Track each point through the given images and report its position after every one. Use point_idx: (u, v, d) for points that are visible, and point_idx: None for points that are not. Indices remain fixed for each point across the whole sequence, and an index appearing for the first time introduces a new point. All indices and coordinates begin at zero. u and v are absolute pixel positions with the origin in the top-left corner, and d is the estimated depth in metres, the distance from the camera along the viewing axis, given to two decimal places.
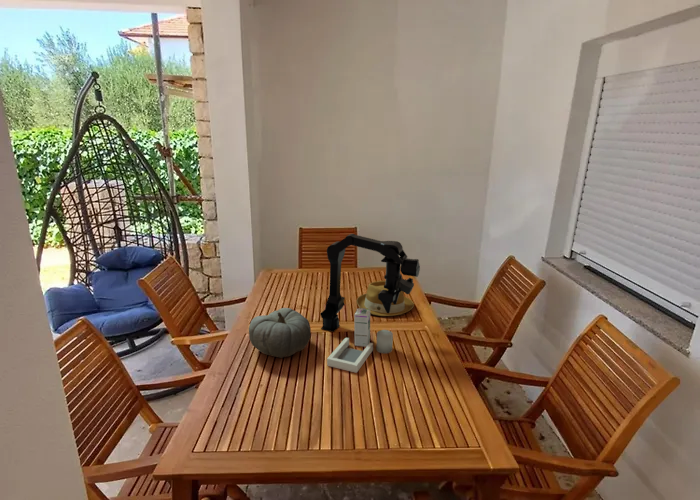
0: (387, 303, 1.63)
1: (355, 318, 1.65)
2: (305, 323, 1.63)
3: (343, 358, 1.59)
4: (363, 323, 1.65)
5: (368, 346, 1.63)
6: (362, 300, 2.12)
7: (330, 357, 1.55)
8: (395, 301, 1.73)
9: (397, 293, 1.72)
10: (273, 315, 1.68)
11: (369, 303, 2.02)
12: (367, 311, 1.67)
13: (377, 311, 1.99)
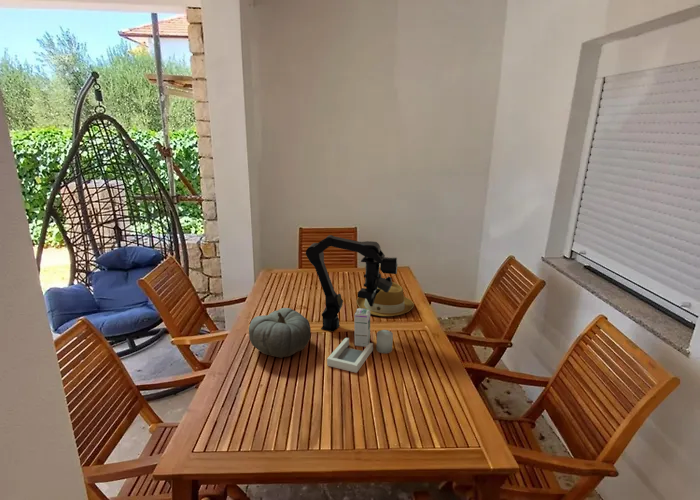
0: None
1: (355, 318, 1.65)
2: (305, 323, 1.63)
3: (343, 358, 1.59)
4: (363, 323, 1.65)
5: (368, 346, 1.63)
6: (362, 300, 2.12)
7: (330, 357, 1.55)
8: None
9: (374, 295, 1.76)
10: (273, 315, 1.68)
11: None
12: (367, 311, 1.67)
13: (377, 311, 1.99)
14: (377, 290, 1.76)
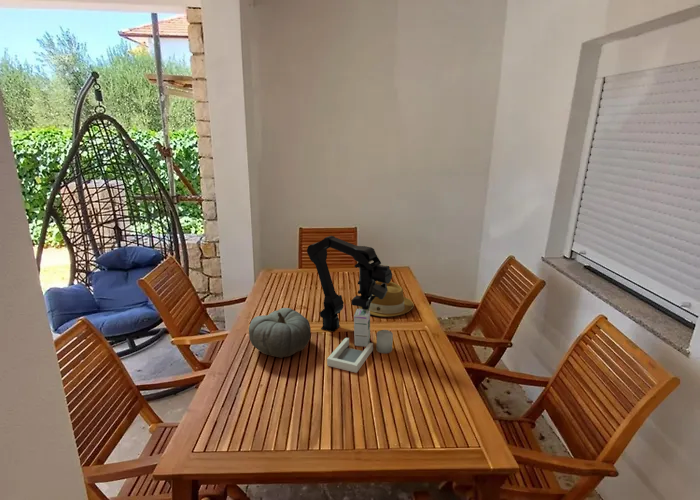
0: None
1: (354, 319, 1.64)
2: (305, 323, 1.63)
3: (343, 358, 1.59)
4: (363, 324, 1.65)
5: (368, 346, 1.63)
6: None
7: (330, 357, 1.55)
8: None
9: (368, 302, 1.69)
10: (273, 315, 1.68)
11: None
12: (367, 312, 1.66)
13: (377, 312, 1.98)
14: (372, 297, 1.70)
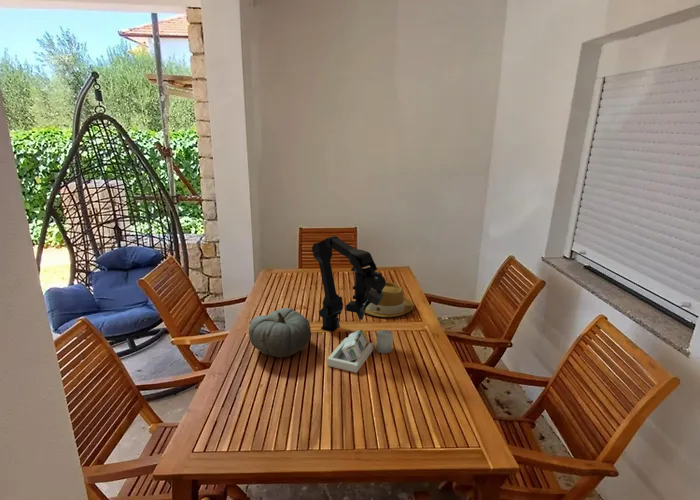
0: None
1: None
2: (305, 323, 1.63)
3: (343, 358, 1.59)
4: None
5: (368, 346, 1.63)
6: None
7: (330, 357, 1.55)
8: None
9: (363, 308, 1.65)
10: (273, 315, 1.68)
11: (369, 304, 2.01)
12: (354, 350, 1.53)
13: (377, 312, 1.98)
14: (367, 302, 1.65)
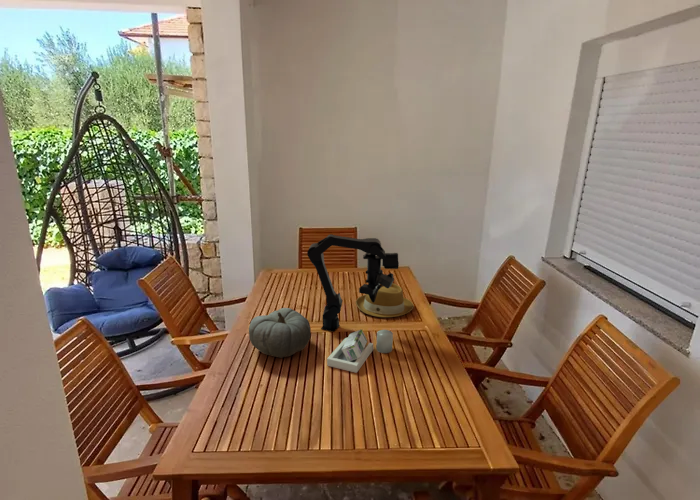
0: None
1: None
2: (305, 323, 1.63)
3: (343, 358, 1.59)
4: None
5: (368, 346, 1.63)
6: (361, 301, 2.11)
7: (330, 357, 1.55)
8: None
9: (375, 291, 1.78)
10: (273, 315, 1.68)
11: (368, 304, 2.00)
12: (354, 350, 1.53)
13: (376, 312, 1.98)
14: (379, 286, 1.78)
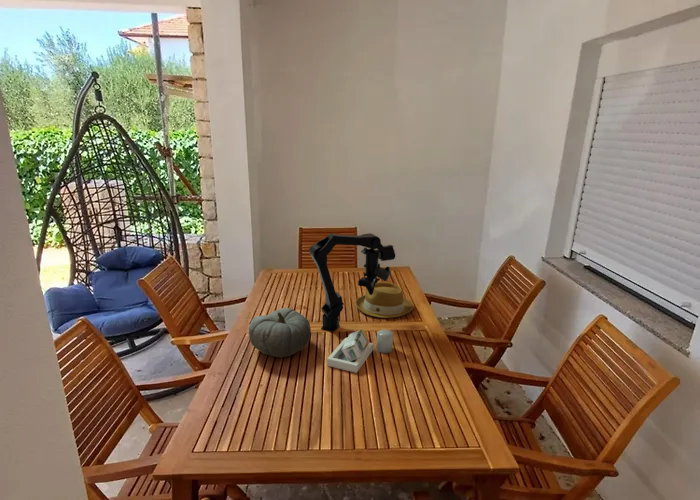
0: None
1: None
2: (305, 323, 1.63)
3: (343, 358, 1.59)
4: None
5: (368, 346, 1.63)
6: (361, 301, 2.10)
7: (330, 357, 1.55)
8: None
9: (373, 284, 1.86)
10: (273, 315, 1.68)
11: (368, 305, 2.00)
12: (354, 350, 1.53)
13: (376, 313, 1.97)
14: (376, 279, 1.86)
